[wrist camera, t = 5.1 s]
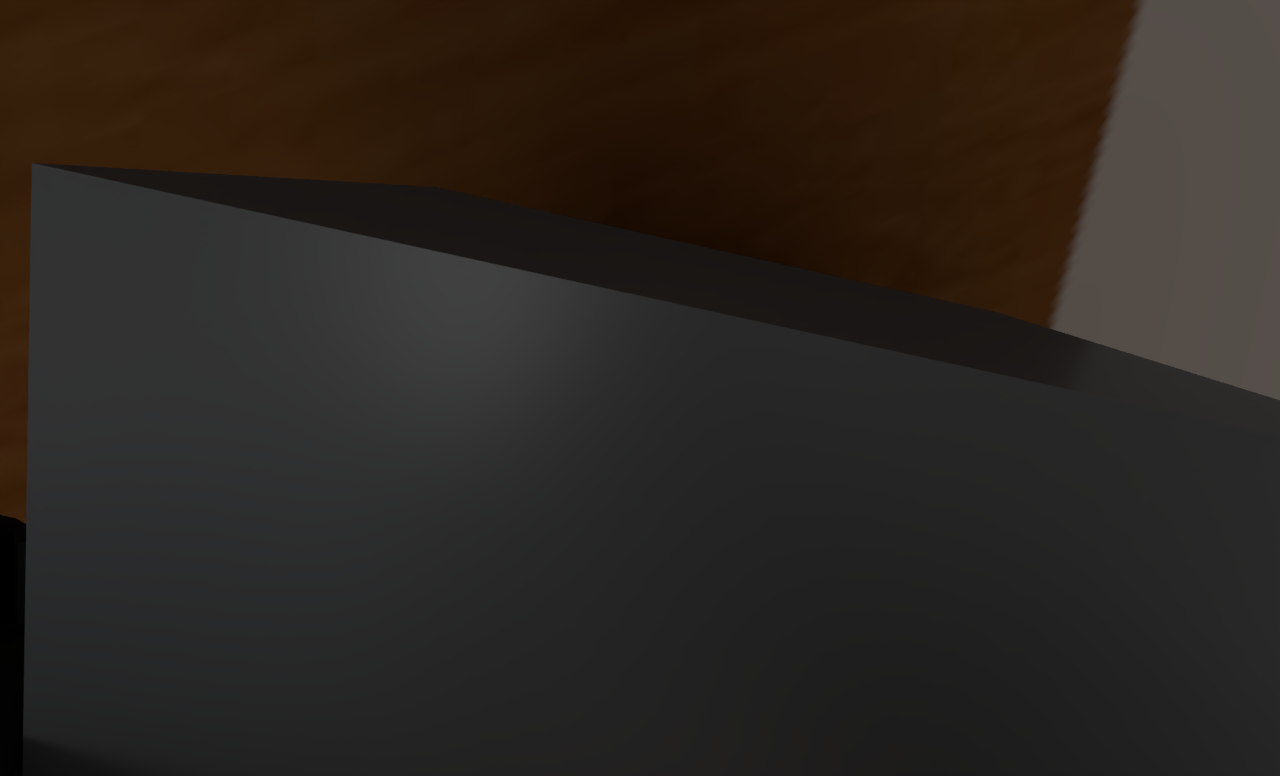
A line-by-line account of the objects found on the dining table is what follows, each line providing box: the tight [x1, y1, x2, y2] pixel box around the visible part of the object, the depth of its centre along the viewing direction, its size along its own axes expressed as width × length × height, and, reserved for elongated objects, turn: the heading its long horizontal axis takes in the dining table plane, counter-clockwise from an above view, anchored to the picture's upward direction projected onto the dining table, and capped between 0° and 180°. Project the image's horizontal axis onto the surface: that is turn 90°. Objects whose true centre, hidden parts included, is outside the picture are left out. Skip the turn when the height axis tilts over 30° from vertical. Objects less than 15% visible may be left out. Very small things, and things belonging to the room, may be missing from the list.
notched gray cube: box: [22, 163, 1280, 776], centre depth 10 cm, size 10×10×9 cm
